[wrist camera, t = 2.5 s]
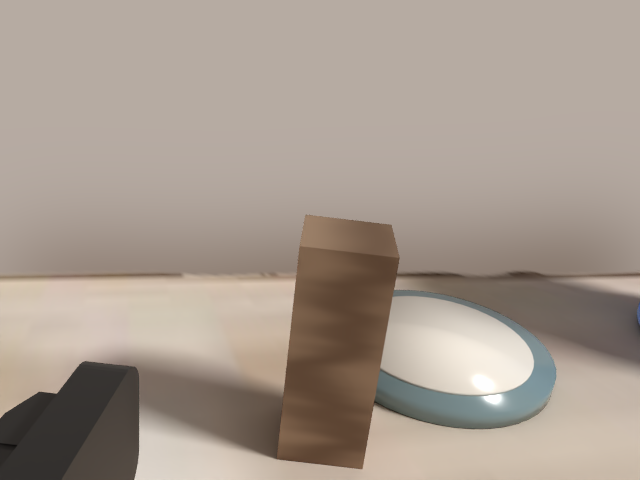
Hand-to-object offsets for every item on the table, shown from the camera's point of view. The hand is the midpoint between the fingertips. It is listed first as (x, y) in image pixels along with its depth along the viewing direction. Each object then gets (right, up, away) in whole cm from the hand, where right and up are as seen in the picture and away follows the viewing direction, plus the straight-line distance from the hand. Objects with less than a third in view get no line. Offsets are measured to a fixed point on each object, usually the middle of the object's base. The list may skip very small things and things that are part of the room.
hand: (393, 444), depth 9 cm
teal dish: (+7, -5, +33) cm, 34 cm away
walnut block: (-1, -8, +23) cm, 25 cm away
